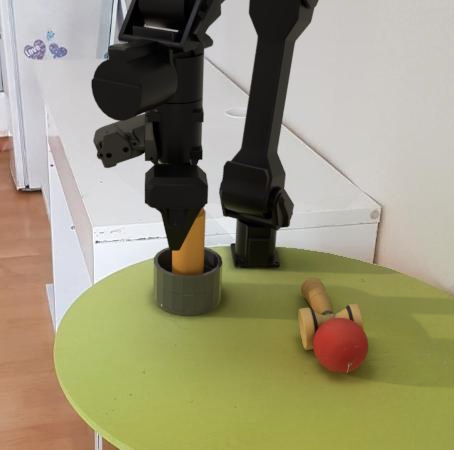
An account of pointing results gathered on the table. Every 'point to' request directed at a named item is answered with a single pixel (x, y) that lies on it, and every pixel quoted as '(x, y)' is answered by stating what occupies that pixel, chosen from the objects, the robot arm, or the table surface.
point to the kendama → (332, 330)
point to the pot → (187, 285)
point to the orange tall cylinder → (191, 250)
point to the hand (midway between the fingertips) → (173, 231)
